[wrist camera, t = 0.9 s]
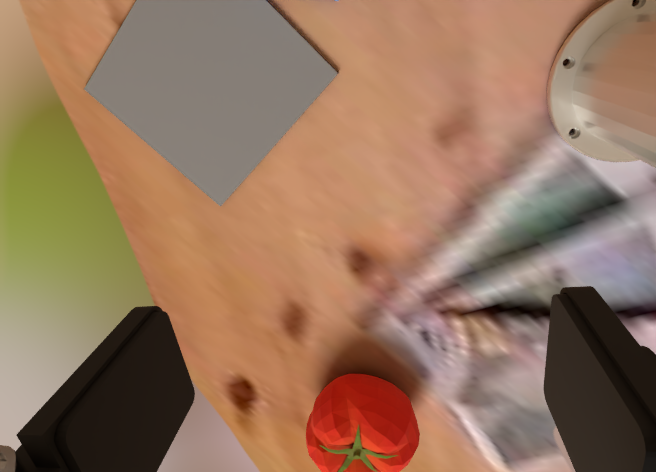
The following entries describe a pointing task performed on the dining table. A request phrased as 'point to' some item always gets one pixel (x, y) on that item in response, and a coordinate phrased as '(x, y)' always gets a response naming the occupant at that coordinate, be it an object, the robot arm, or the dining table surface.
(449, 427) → the dining table surface
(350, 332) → the dining table surface
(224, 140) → the mat
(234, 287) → the dining table surface
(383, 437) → the tomato
